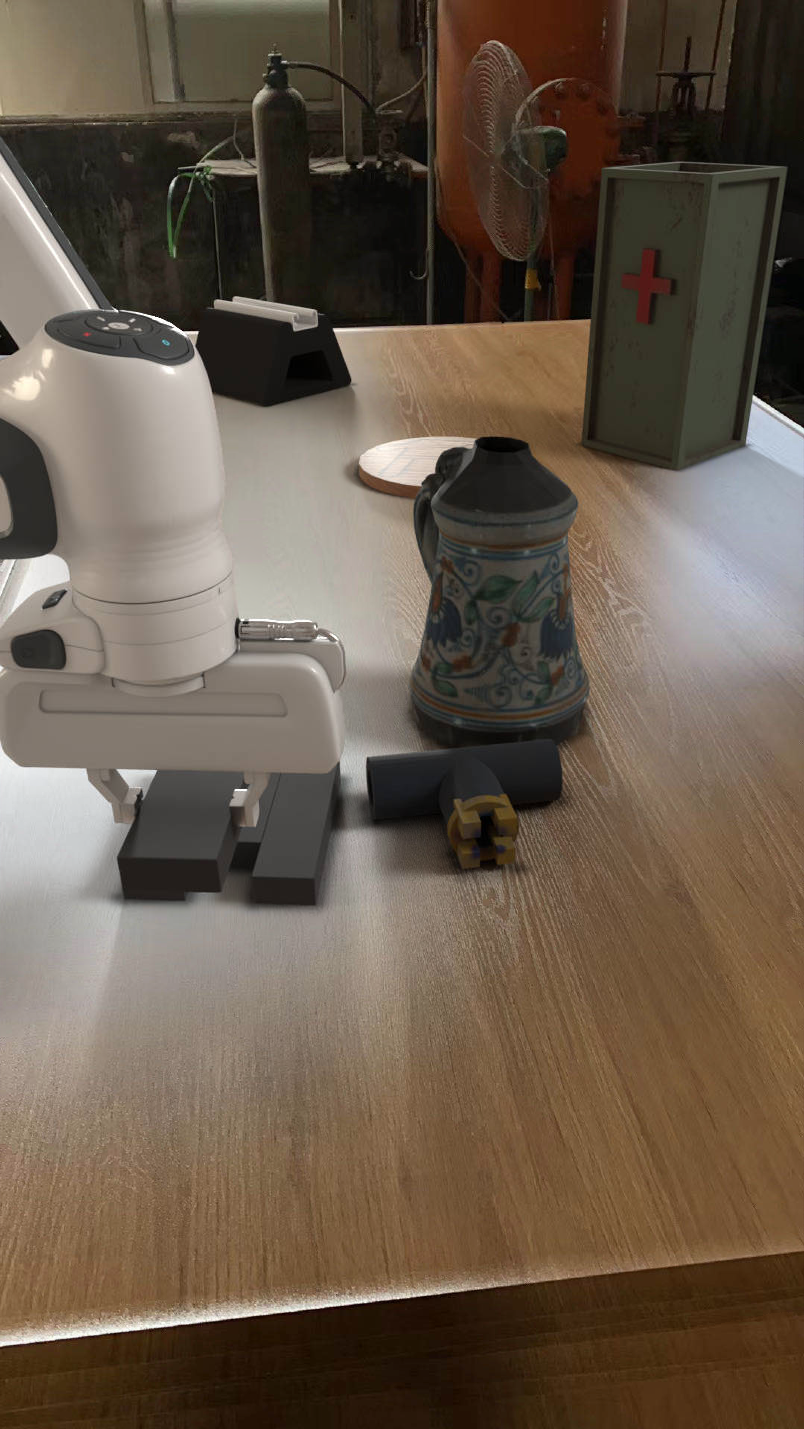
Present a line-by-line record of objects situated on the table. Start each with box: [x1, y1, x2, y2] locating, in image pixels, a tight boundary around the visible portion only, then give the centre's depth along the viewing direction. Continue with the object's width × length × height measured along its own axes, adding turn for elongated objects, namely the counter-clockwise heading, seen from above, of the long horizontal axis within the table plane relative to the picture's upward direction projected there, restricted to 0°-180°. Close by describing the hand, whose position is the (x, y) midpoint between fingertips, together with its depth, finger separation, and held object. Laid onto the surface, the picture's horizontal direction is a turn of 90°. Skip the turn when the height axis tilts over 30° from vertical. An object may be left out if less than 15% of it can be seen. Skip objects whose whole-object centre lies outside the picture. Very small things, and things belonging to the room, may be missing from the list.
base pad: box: [120, 760, 342, 906], centre depth 84 cm, size 14×16×2 cm
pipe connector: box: [365, 739, 563, 870], centre depth 84 cm, size 12×5×15 cm
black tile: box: [116, 770, 250, 894], centre depth 70 cm, size 6×13×2 cm, turn 177°
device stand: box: [194, 296, 353, 407], centre depth 208 cm, size 22×22×15 cm
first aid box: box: [581, 161, 788, 471], centre depth 164 cm, size 18×18×40 cm
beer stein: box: [408, 435, 590, 749], centre depth 96 cm, size 16×19×25 cm
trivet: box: [358, 436, 477, 499], centre depth 163 cm, size 25×25×2 cm
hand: (187, 819), depth 68 cm, fingers closed on black tile, 6 cm apart
